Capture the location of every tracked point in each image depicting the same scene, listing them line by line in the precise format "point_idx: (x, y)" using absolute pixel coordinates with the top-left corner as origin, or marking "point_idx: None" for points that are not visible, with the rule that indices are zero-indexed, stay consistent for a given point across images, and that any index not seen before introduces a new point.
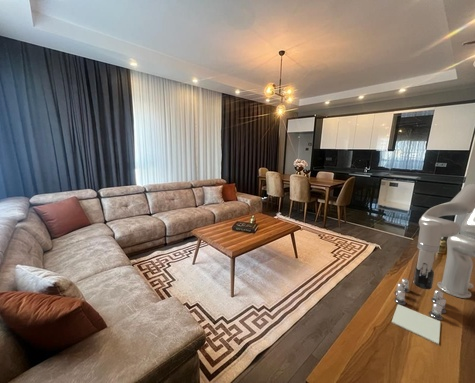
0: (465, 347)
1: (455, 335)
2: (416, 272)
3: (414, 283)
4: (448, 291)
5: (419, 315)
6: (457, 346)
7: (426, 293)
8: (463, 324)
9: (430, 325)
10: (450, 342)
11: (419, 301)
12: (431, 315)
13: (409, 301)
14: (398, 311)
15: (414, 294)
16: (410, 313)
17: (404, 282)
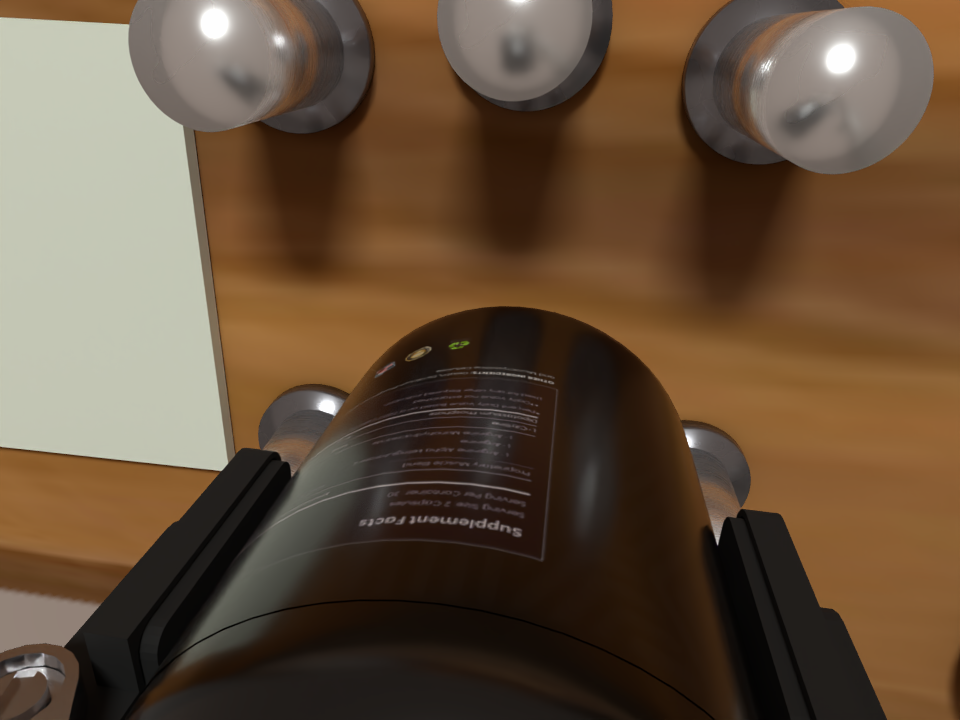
0: (53, 577)
1: (148, 543)
2: (255, 573)
3: (435, 321)
4: None
5: (151, 296)
6: (7, 535)
7: (854, 379)
8: None
9: (67, 388)
10: (7, 500)
11: (536, 295)
12: (272, 407)
13: (430, 176)
14: None
15: (707, 233)
16: (94, 203)
17: (757, 76)
